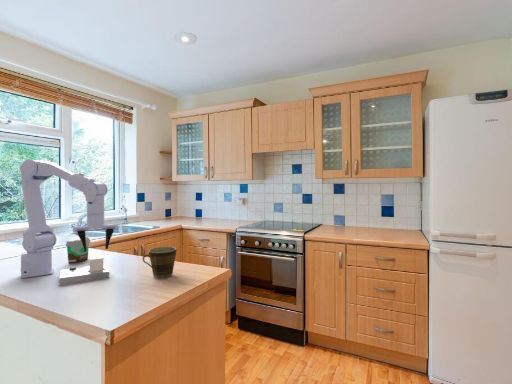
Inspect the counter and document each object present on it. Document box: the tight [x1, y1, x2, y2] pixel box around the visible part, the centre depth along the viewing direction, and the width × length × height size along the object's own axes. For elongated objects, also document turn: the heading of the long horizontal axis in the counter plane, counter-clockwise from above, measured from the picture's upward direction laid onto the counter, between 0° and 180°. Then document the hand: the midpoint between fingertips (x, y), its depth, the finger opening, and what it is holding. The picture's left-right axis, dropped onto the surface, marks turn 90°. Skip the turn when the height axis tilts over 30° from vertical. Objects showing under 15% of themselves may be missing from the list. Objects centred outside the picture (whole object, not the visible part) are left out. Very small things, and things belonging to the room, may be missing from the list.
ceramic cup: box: [142, 246, 177, 280], centre depth 106 cm, size 13×10×10 cm
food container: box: [65, 236, 91, 265], centre depth 131 cm, size 12×6×10 cm, turn 179°
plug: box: [88, 254, 104, 272], centre depth 108 cm, size 4×6×6 cm
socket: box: [59, 263, 110, 286], centre depth 106 cm, size 15×12×3 cm
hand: (96, 249), depth 108 cm, fingers open, 6 cm apart
